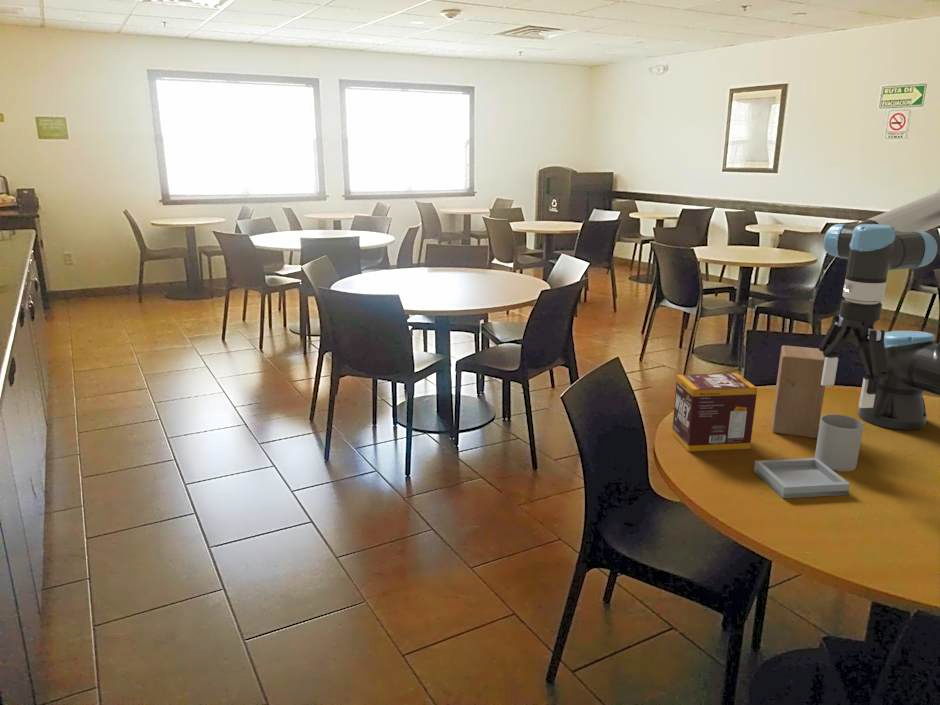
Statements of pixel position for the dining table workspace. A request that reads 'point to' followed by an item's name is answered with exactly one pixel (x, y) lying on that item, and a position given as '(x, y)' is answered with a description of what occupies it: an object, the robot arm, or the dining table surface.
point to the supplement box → (714, 411)
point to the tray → (801, 478)
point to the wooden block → (798, 392)
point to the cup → (839, 441)
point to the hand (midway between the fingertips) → (845, 395)
